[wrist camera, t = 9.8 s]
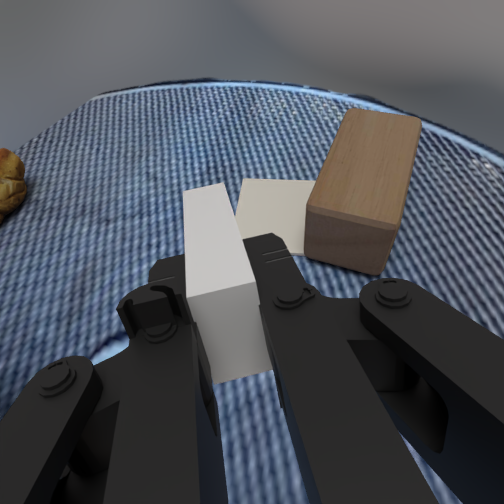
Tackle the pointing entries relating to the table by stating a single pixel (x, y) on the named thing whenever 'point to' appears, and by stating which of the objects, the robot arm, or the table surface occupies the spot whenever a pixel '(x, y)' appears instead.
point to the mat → (274, 210)
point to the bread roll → (11, 182)
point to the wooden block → (362, 191)
